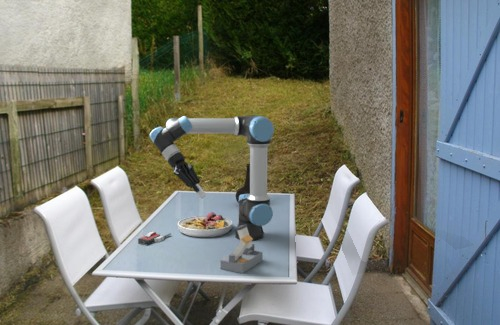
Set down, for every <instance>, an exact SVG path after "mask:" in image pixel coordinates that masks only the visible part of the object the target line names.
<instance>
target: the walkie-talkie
mask: <svg viewBox="0 0 500 325" xmlns="http://www.w3.org/2000/svg"><path fill="white" fill-rule="evenodd" d="M171 235H172V233H171V232H170V233H168V234H165V235H161V234H160V233H157V232H156V231H150V232H148V233H147V234H146V235H143V236H141V237H139V238H138V239H137V242H138V243H137V244H140V245H145V246H149V245H151V244H154V243H160V242H162V241H164V240H165V238H168V237H169V236H171ZM153 242H154V243H153Z"/></svg>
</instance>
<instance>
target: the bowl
mask: <svg viewBox="0 0 500 325" xmlns="http://www.w3.org/2000/svg"><path fill="white" fill-rule="evenodd" d="M232 228H233V221H232V220H231V219H230V218H227V217H224V216H222V215H221V214H218V215H217V214H216V213H215V212H213V211H212V212H211V211H210V212H209V213H208V214H207V215H195V216H189V217H185V218H182V219H180V220H179V221H178V222H177V229H178V230H179V231H180V232H181V233H182V234H183V235H186V236H189V237H193V238H194V237H195V238H214V237H220V236H223V235H225V234H227V233H229V232H230V231H231V230H232Z"/></svg>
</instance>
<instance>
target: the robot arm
mask: <svg viewBox="0 0 500 325" xmlns="http://www.w3.org/2000/svg"><path fill="white" fill-rule="evenodd" d="M274 132H275V126H274V123H273V122H272V121H271V120H270V119H269V118H267V117H265V116H262V115H256V114H252V115H244V116H243V115H241V116H234V117H231V118H225V117H224V118H219V117H218V118H212V117H210V118H205V117H204V118H203V117H202V118H195V117H194V118H189V117H187V116H185V115H183V116H181V117H178V118H177V117H171V118H169V119H168V120H167V121H166V123H165V128H163V127H162V126H157V127H155V128H154V129H152V130H151V132H149V139H150V140H151V142H152V143H153V145H155V147H156V148H157V149H158V151H159V152H160V153H161V155H162V156H163V158H165V161H167V163H168V165H169V166H170V167H171V168H172V169H174V171H173V172H172V173H173V174H174V175H176V176H177V177H178V178H179V179H180V181H182V183H183V184H185V185H186V187H187V188H189V189H193V191H194V192H195V193H196V194H197V196H198V197H199V198H200V199H201V200H202V199H204V198H205V197H206V196H207V194H206V192H205V191H204V189H203V187H202V186H201V185H200V182H201V179H200V178H199V175H198V174H197V172H196V171H195V169H194V165H193V164H190V165H189V163H188V162H186V161H185V159H186V158H185V156H184V155H183V153H182V152H180V151H181V150H180V148H178V147H177V145H176V144H175V142H176V141H178V140H179V139H180V138H181V137H183V136H185V135H186V134H191V135H192V134H234V136H243V137H246V142H247V143H246V144H247V145H248V147H249V164H250V194H242V195H240V196H239V201H238V202H239V203H238V202H237V203H238V224H237V227H239V226H241V225H245V224H247V229H248V232H249V236H251V237H252V238H253V240H252V241H257V240H259V241H260V240H262V239H263V238H265V236H264V234H265V233H264V229H263V226H266V225H267V224H269V223H270V222H271V220H272V218H273V215H274V214H273V213H274V211H273V208H272V206H271V197H270V196H269V195H268V148H269V146H271V142H272V141H271V140H272V137H273V135H274ZM237 227H236V228H237ZM234 234H235V235H234V236H235V238H236V239H238V240H240V238H239V234H238V231H237V230H236V229H235V233H234Z"/></svg>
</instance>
